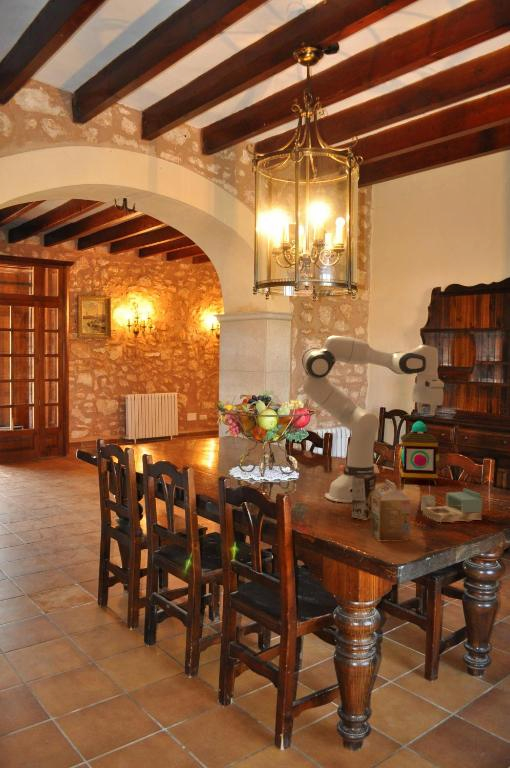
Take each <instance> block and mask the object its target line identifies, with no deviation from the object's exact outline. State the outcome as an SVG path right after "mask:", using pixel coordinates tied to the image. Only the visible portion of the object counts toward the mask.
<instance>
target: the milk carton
mask: <svg viewBox="0 0 510 768" xmlns="http://www.w3.org/2000/svg"><path fill="white" fill-rule="evenodd" d="M396 486H397V485H396V484H394V483H393V482H391V481H390V480H389V479H385V483H383V484H381V485H379V486H378V487H376V488H375V490H374V491H373V492H372V493H371V518H370V533H371V532H372V533H373V534H374V535H375V536H376V537H377V538H378V539H379V540H406V539H407V540H409V539H410V540H411V499H410V498H409V497H408V496H407V495H406V494H405V493H403V492H401V491H400V490H399V489H398V488H397V487H396ZM372 533H371V534H372ZM373 534H372V535H373ZM374 535H373V536H374ZM375 536H374V537H375ZM376 537H375V538H376Z"/></svg>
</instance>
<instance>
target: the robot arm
mask: <svg viewBox="0 0 510 768" xmlns="http://www.w3.org/2000/svg"><path fill="white" fill-rule="evenodd" d="M301 362H302V363H301V364H302V366H303V370H304V373H305V374H306V376H307V377H306V379H305V380H304V382H303V385H302V388H303V390H304V392H305V394H306V395H307V396H308V397H309V398H310V399H311V400H312V401H313V402H314V403H315V404H317V405H318V406H319V407H320V408H322V409H323V410H324V411H325V412H326V413H328V414H329V415H330V416H332V417H334V419H335V420H337V422H339V423H340V424H341V425H343V427H344V428H346V429H347V430H348V431H350V432H351V433H350V434H351V435H350V439H349V443H348V446H347V458H346V459H347V464H346V465H345V466H344V465H342V464H341V465H340V466H339V467H338V468H339V469H340V470H341V471H342V472H343V473H342V474H340V475H339V476H338V477H337V478H336V479H335V480H333V481H332V482H331V483H330V487H329V492H327V493H324V495H325V497H326V498H328V499H330V500H333V501H340V502H343V503H352V483H353V477H355V476H357V475H360V474H369V475H375V467H374V445H375V441H376V437H377V432H378V431H379V428H380V420H379V418H378V417H377V415H376V414H375V413H374V412H373V411H371V410H367V409H364V408H362V407H361V406H360V405H358V404H357V403H356V402H355V401H354V400H353V399H352V398H351V397H350V396H349V395H348V394H347V393H345V392H344V391H343V390H341V389H340V388H339V387H337V386H336V385H335V384H334V383H333V382H331V381H330V380H329V379H328V378H327V375H329V373H330V372H331V370H332V368H333V366H335V364H336V362H339V363H340V362H341V363H345V364H349V365H350V364H351V365H358V366H359V365H360V366H361V365H362V366H363V365H365V364H372V365H376V366H381V367H385V368H388V369H389V370H390V371H392V372H393V373H394V374H397V375H413V374H416V382H415V383H414V386H412V387H413V388H412V392H411V393H412V394H411V401H412V403H416V407H417V413H418V414H424V409H423V408H424V407H423V405H430V410H429V414H428V415H429V416H435V415H436V410H437V408H438V407H437V406H442V405H443V402H444V389H443V388H444V387H445V382H444V381H442V380H441V379H440V378H439V373H438V368H439V351H438V349H437V347H436V346H434V345H430V344H424V343H421V344H418V346H416V347H415V348H413V349H411V350H408V351H396V352H391V353H390V352H386V351H381V350H377V349H374V348H372V347H371V346H370V344H369V343H368V342H366V341H363V340H361V339H358V338H354V337H349V336H344V335H331V336H328V337H327V338H326V339H325V341H324V344H323V347H322V348H316V347H315V348H309V349H307V350H306V351H305V352H304V353H303V355H302V358H301ZM325 497H324V498H325ZM326 498H325V499H326Z"/></svg>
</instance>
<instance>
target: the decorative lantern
mask: <svg viewBox="0 0 510 768" xmlns="http://www.w3.org/2000/svg"><path fill="white" fill-rule="evenodd" d="M400 441H401V443H402V445H401V446H402V448H400V449H399V450H398V453H397V457H398V459H399V460H401V467H400V469H399V477H400V476H401V477H400V481H401V484H403V485H404V484H405V480H407V479H408V480H409V479H410V480H411V479H412V480H430V481H434V485H435V486H438V485H439V477H438V474H437V469H436V468H437V462H439V461H440V455H439V454H437V447H438V445H439V441H438V440H437V438H435V436H434V435H433V434H430V433H429V432H428V431H427V426H426V424H425V423H424V422H423V421H422V420H418V421H416V422H414V423H413V425H412V427H411V429H410V431H409V432H407V433H403V435H401V437H400Z"/></svg>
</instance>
